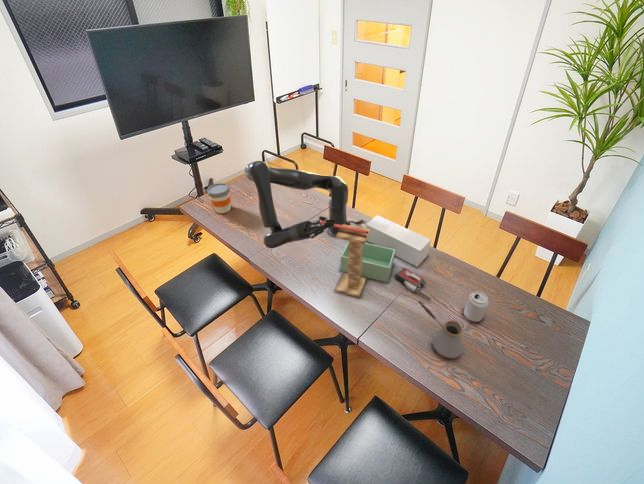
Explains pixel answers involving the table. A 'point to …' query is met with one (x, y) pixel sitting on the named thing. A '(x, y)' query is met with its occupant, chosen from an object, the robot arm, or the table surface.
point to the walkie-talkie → (411, 281)
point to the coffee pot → (447, 338)
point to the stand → (353, 261)
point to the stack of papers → (398, 240)
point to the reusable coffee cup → (220, 197)
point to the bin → (372, 261)
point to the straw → (346, 227)
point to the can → (476, 306)
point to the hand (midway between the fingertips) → (333, 222)
